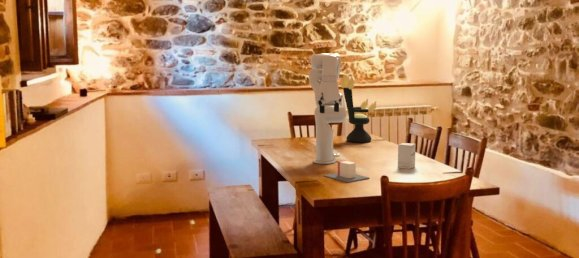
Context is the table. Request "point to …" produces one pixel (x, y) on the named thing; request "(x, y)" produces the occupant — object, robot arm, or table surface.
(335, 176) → the mat
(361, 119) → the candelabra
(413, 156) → the supplement box
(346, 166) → the card box
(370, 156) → the table surface
